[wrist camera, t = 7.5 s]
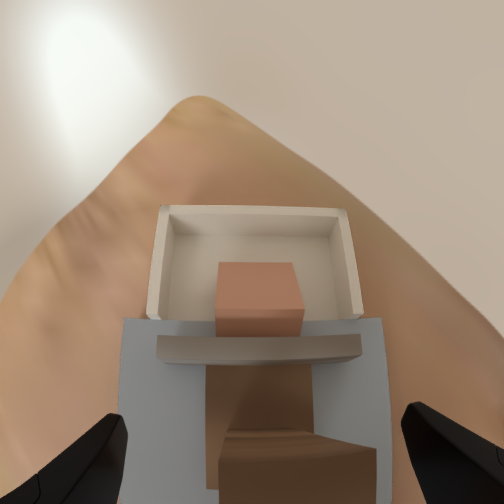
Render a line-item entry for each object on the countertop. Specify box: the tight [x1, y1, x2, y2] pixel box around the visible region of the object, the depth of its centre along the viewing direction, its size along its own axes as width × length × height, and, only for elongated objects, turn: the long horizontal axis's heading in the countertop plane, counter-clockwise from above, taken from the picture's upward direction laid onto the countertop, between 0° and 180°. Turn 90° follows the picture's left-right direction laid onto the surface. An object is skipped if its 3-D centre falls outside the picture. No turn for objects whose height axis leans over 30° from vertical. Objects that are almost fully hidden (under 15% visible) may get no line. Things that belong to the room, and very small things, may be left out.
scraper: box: [156, 333, 377, 504], centre depth 9 cm, size 7×9×10 cm
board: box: [118, 317, 392, 504], centre depth 13 cm, size 17×14×2 cm
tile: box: [215, 262, 305, 337], centre depth 16 cm, size 4×4×2 cm
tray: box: [146, 205, 364, 321], centre depth 18 cm, size 6×11×3 cm, turn 91°
